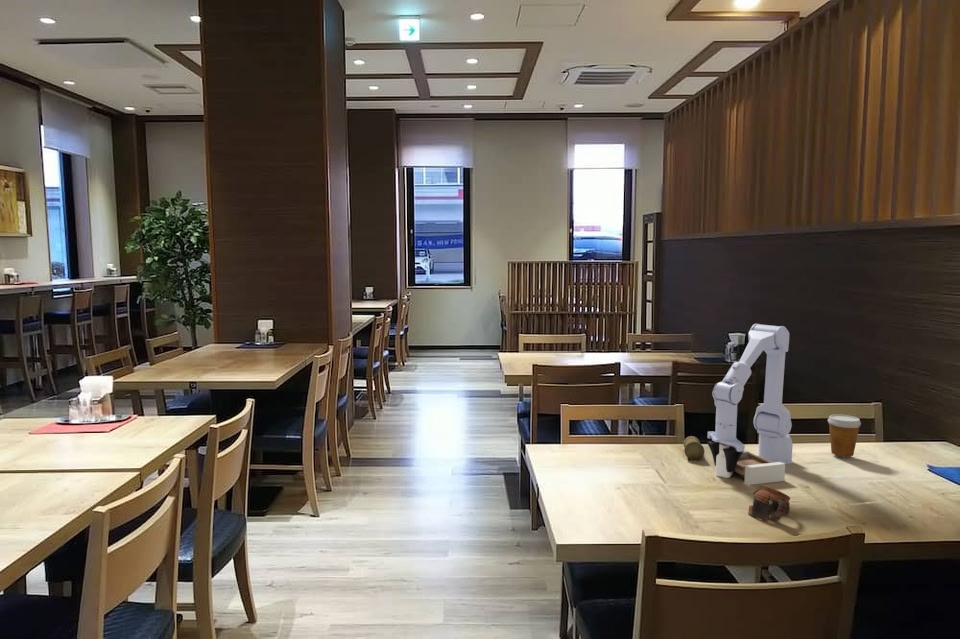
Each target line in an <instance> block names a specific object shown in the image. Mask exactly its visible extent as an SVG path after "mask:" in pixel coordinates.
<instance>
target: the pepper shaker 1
mask: <svg viewBox="0 0 960 639" xmlns="http://www.w3.org/2000/svg"><path fill="white" fill-rule="evenodd" d="M683 447H684V456H685V457H686V458H688V460H690V461H699V460H701V459H703V457H704V455H705V448H704V446H703V444H702V443H701V442H700V440H699V439H698V438H697V437H696V436H692V435H690V436H687V437H686V438H685V439H684V441H683Z"/></svg>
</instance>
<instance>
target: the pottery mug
mask: <svg viewBox="0 0 960 639" xmlns="http://www.w3.org/2000/svg"><path fill="white" fill-rule="evenodd" d="M752 495H753V502H752V505H749V506H748V515H749V516H753V517H755V518H757V519H760V520H761V521H764V522H769V518H770V517H771V519H772V520H774V521H777V520H780V519H781V518H782V516H784V515H789V513H790V509H791V508H790V505H791V504H790V499H791V497H790V496H789V495H787V494H786V493H784V492H782V491H780V490H777V489H775V488H772V487H769V486H766V485H761V484H760V485H759V489H757V490H755V491H754V492H753V493H752ZM770 502H771V503H770Z"/></svg>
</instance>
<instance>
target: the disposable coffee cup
mask: <svg viewBox="0 0 960 639" xmlns="http://www.w3.org/2000/svg"><path fill="white" fill-rule="evenodd" d="M827 422H828V424H829V425H828V426H829V437H830V439H829V440H830V450H831V451H830V452H831V454H833V455H835V456H838V457H844V458H846V457H847V458H850V457H854V454H855V449H856V445H857V439H858V436H859V431H860V427H861V425H862V422H861V420H860V418H858V417H856V416H853V415H848V414H847V415H846V414H831V415H829V417H828V419H827Z"/></svg>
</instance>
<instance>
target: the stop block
mask: <svg viewBox="0 0 960 639" xmlns="http://www.w3.org/2000/svg"><path fill="white" fill-rule="evenodd" d="M785 476H786V464H784V463H782V462H774V463H764V464H755V465H746V466H745V478H744V483H745V484H747V485H748V486H751V485H759V484H760V485H761V484H769V483H770V484H771V483H777V482H784V481H785Z"/></svg>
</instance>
